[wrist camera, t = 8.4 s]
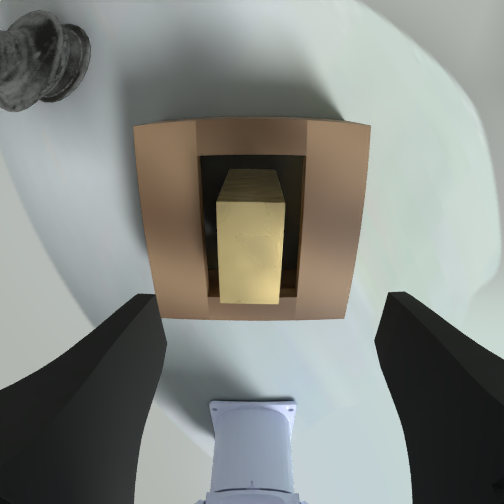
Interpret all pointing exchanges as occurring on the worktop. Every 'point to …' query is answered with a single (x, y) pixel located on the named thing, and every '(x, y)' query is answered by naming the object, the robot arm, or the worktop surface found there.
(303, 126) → the walnut box
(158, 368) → the robot arm
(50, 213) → the worktop surface
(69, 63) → the salt shaker
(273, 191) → the block
